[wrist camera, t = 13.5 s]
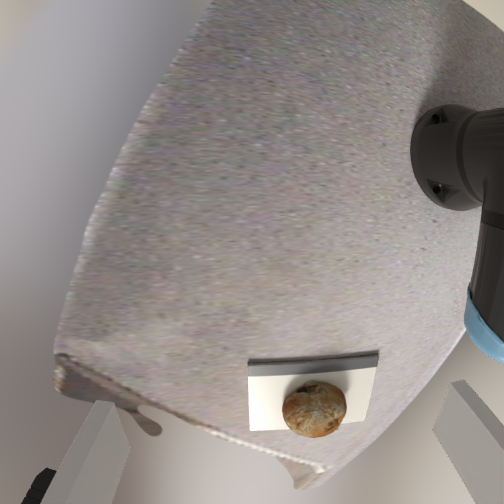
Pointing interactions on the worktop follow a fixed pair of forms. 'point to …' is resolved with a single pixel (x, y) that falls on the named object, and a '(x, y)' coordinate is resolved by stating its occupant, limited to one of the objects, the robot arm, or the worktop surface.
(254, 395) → the mat
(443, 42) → the worktop surface
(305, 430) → the bread roll
